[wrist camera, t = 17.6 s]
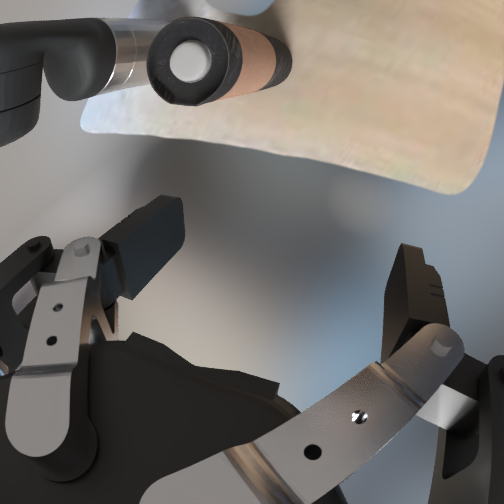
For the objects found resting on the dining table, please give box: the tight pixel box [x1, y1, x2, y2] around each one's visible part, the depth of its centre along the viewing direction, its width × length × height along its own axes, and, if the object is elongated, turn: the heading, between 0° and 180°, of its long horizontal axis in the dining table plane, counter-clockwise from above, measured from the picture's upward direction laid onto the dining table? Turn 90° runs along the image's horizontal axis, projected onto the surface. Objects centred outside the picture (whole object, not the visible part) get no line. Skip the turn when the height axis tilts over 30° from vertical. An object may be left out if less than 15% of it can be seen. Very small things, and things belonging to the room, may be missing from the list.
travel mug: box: [146, 17, 292, 106], centre depth 28 cm, size 8×8×20 cm
